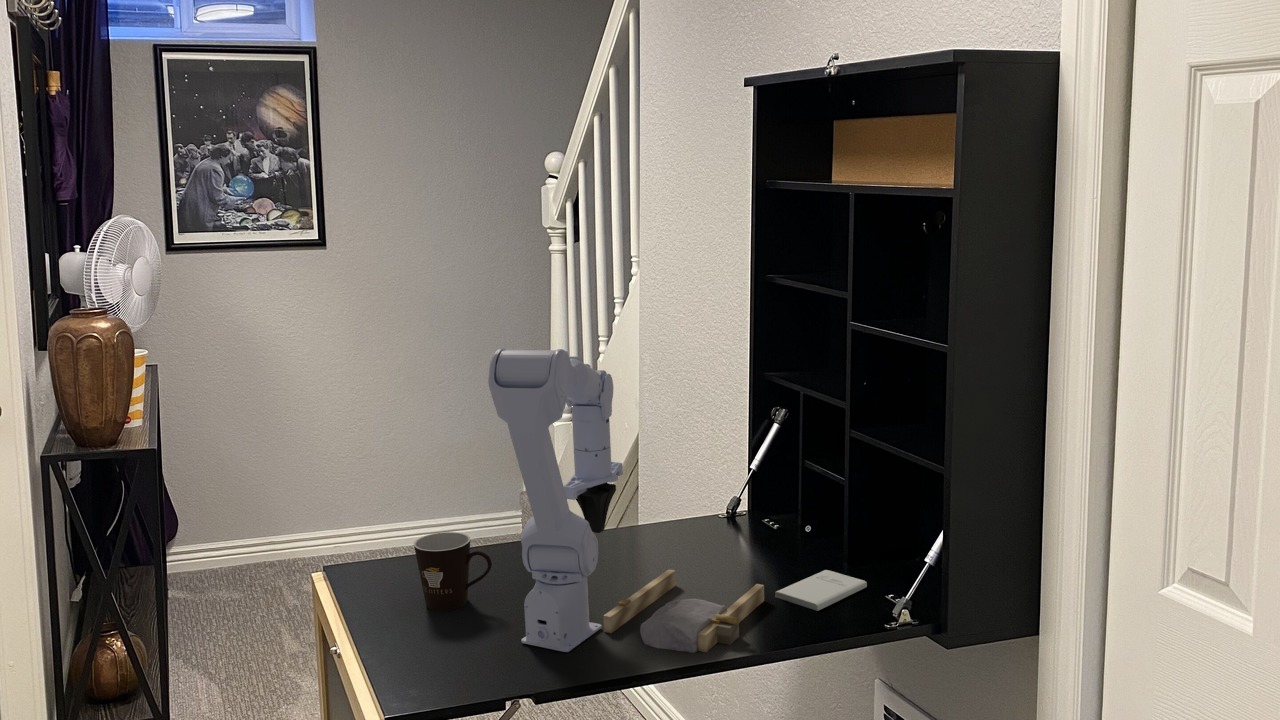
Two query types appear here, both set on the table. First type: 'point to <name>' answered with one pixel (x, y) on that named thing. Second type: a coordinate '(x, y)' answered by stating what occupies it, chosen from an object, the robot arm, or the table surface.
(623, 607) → the beam track
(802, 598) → the external hard drive
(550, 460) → the robot arm
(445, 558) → the coffee mug
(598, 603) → the table surface
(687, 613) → the stone block
